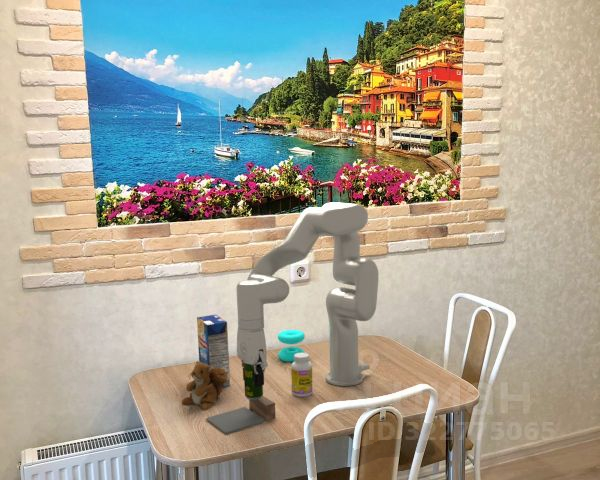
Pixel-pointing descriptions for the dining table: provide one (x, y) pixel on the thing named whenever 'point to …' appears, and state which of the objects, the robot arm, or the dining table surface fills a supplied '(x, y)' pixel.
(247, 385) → the beer can
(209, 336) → the beverage box
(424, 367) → the dining table surface
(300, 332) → the donuts
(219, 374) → the stuffed squirrel
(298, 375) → the supplement bottle
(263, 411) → the walnut ledge
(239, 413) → the rubber mat
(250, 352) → the robot arm
